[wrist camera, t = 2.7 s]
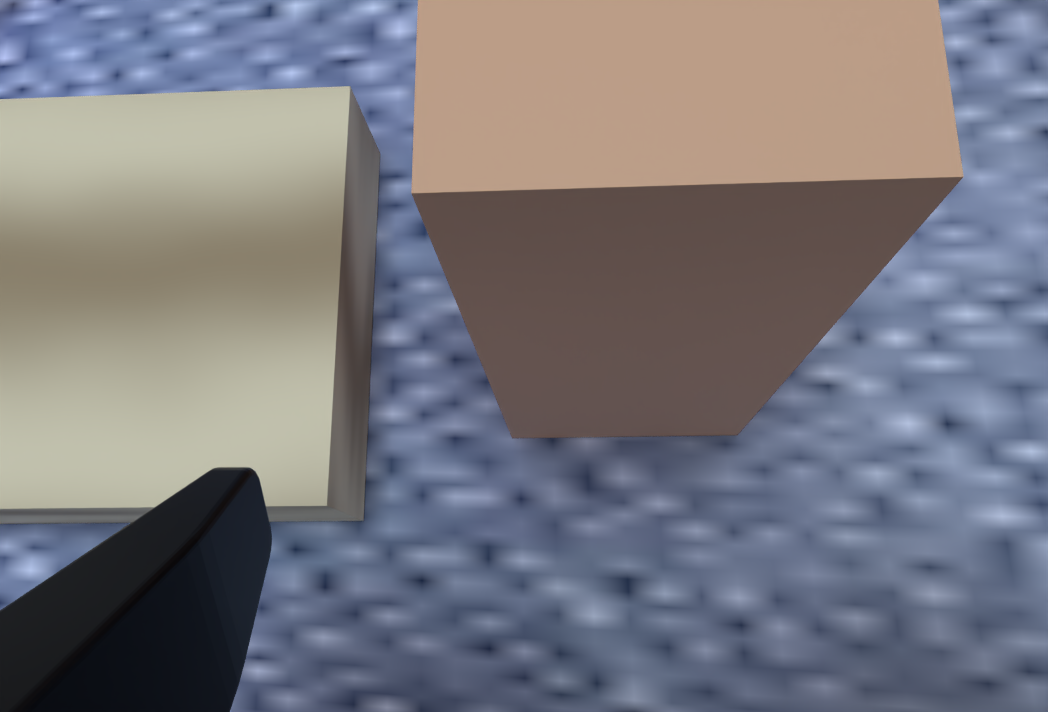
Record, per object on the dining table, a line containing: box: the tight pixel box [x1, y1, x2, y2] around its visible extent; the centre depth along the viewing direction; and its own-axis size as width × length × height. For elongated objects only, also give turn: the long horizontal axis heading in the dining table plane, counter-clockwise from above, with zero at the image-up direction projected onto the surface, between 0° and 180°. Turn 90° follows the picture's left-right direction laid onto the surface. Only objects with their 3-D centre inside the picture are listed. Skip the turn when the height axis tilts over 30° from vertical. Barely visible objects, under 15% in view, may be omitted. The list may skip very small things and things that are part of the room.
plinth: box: [0, 86, 380, 524], centre depth 20 cm, size 9×9×3 cm
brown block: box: [412, 0, 963, 438], centre depth 15 cm, size 5×5×12 cm
